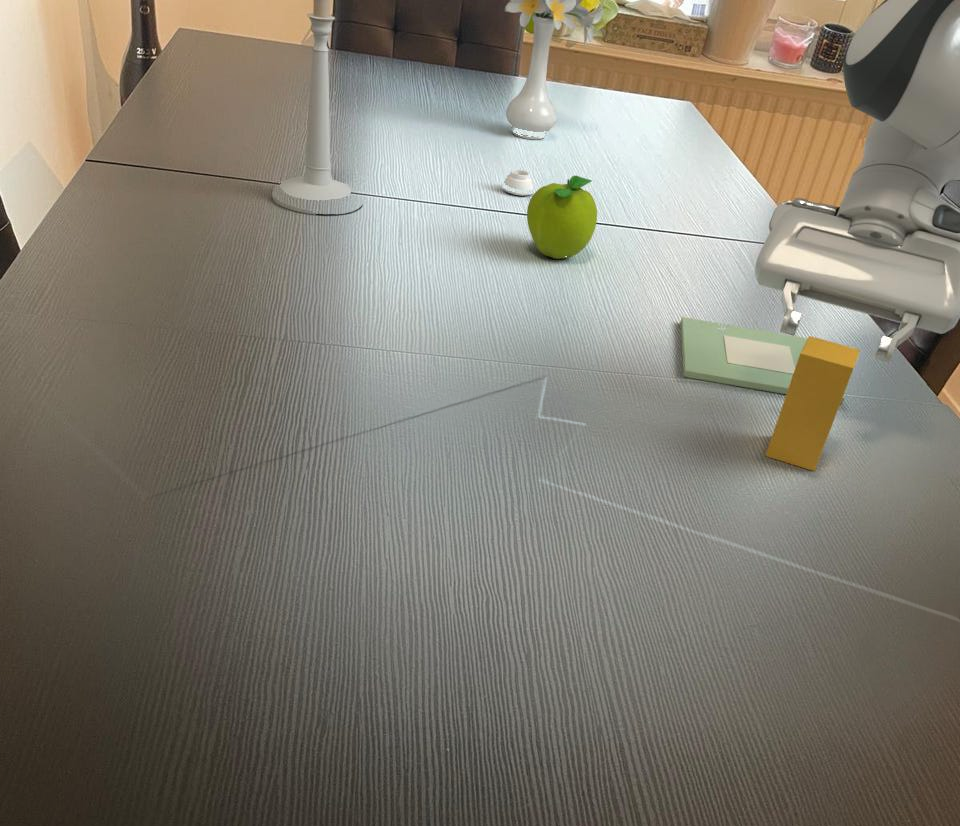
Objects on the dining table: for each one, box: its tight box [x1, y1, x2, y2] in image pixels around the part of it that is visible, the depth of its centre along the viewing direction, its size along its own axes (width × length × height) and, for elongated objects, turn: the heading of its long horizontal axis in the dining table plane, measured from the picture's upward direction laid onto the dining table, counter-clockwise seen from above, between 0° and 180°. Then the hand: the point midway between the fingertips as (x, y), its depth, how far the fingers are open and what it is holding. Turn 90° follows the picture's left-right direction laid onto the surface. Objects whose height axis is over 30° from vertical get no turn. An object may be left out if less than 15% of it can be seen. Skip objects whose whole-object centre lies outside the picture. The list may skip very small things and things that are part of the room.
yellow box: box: [765, 335, 861, 472], centre depth 100 cm, size 5×5×11 cm
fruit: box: [526, 175, 598, 260], centre depth 137 cm, size 9×9×10 cm
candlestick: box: [271, 0, 351, 216], centre depth 136 cm, size 13×13×30 cm
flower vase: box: [504, 0, 606, 141], centre depth 181 cm, size 13×18×25 cm
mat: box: [680, 316, 845, 405], centre depth 120 cm, size 18×16×1 cm
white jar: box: [501, 169, 535, 197], centre depth 160 cm, size 5×3×5 cm
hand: (834, 344), depth 100 cm, fingers open, 8 cm apart
